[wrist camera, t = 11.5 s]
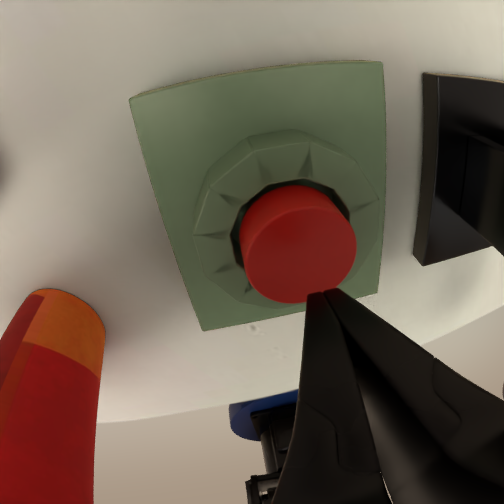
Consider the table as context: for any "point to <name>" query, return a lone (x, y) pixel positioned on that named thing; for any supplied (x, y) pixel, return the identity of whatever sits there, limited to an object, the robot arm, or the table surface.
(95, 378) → the paper cup
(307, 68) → the control block
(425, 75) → the bracket
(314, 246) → the button
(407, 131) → the table surface
